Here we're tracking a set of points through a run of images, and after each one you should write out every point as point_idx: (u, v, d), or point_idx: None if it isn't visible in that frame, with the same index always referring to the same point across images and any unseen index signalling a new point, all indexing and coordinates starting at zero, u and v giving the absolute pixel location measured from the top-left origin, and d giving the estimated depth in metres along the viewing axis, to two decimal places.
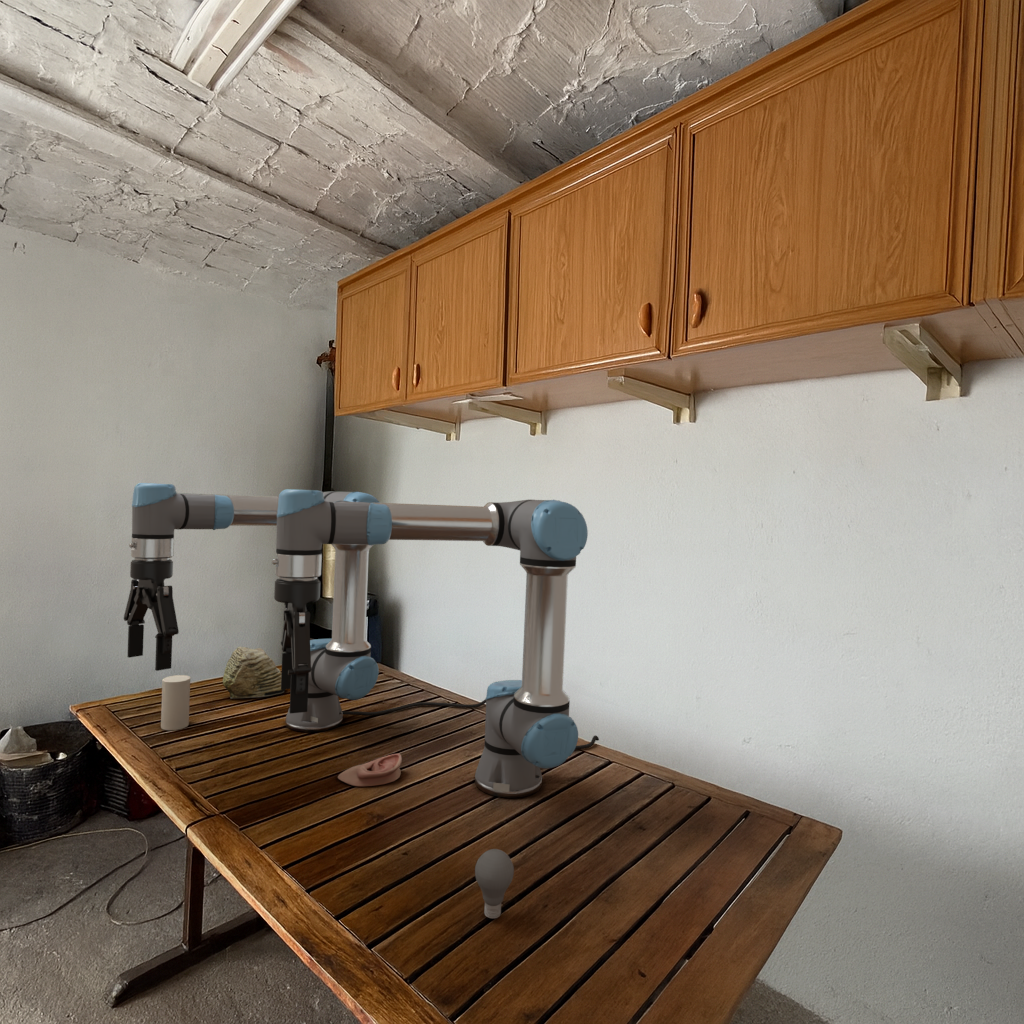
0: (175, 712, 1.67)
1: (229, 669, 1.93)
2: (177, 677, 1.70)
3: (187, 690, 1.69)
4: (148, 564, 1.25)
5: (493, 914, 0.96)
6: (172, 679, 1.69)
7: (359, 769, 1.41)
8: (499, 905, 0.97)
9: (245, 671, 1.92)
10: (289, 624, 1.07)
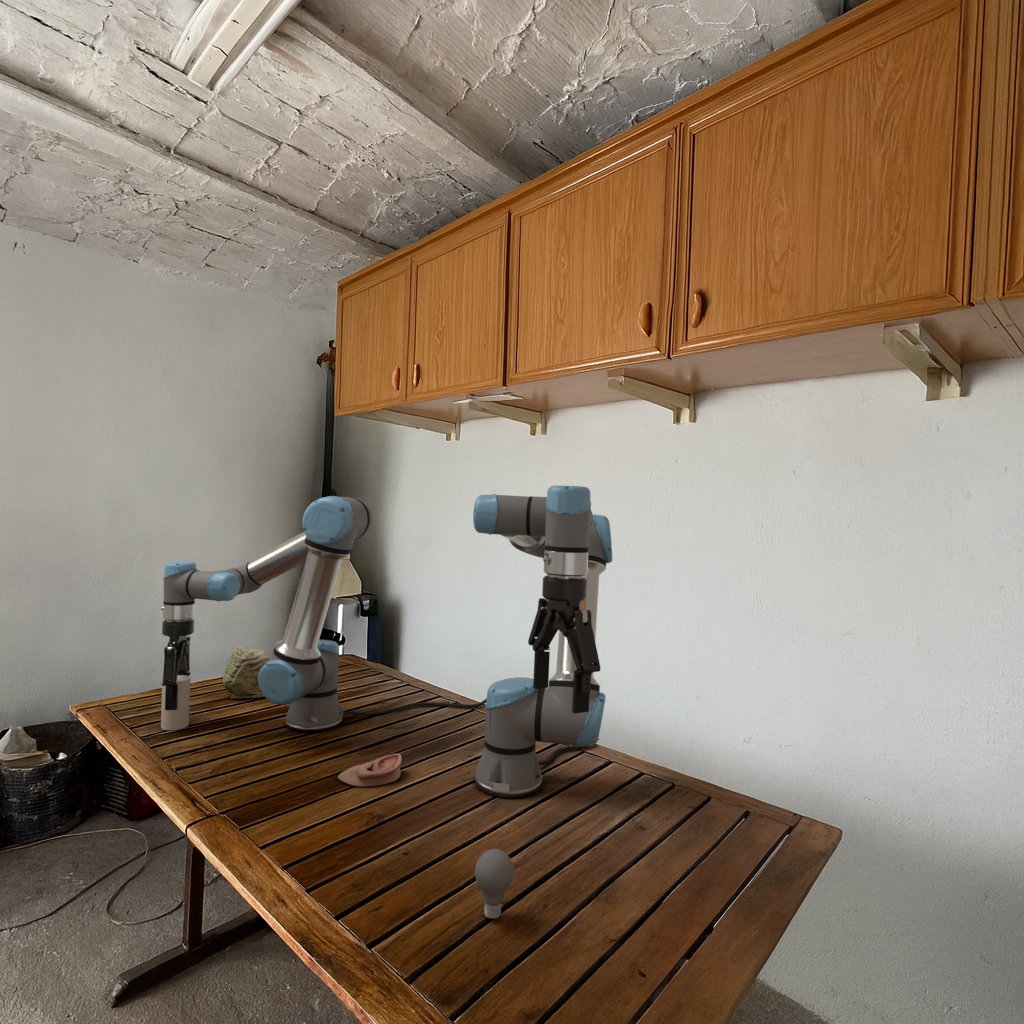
0: (175, 712, 1.67)
1: (229, 669, 1.93)
2: (177, 677, 1.70)
3: (187, 690, 1.69)
4: (166, 624, 1.66)
5: (493, 914, 0.96)
6: None
7: (359, 769, 1.41)
8: (499, 905, 0.97)
9: (245, 671, 1.92)
10: (564, 623, 1.05)
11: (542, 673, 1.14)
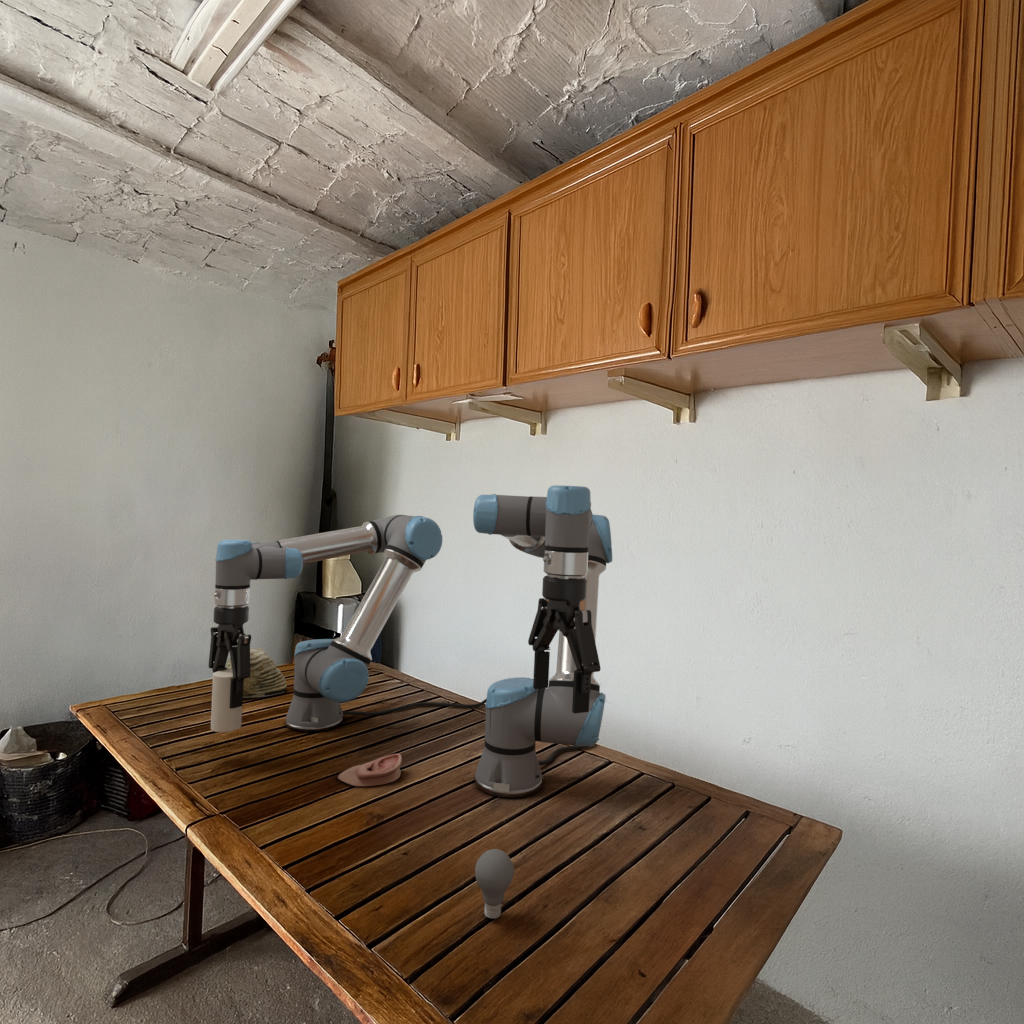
0: (238, 709, 1.48)
1: (229, 669, 1.93)
2: (225, 672, 1.49)
3: None
4: (231, 611, 1.45)
5: (493, 914, 0.96)
6: (225, 674, 1.48)
7: (359, 769, 1.41)
8: (499, 905, 0.97)
9: None
10: (564, 623, 1.05)
11: (542, 673, 1.14)
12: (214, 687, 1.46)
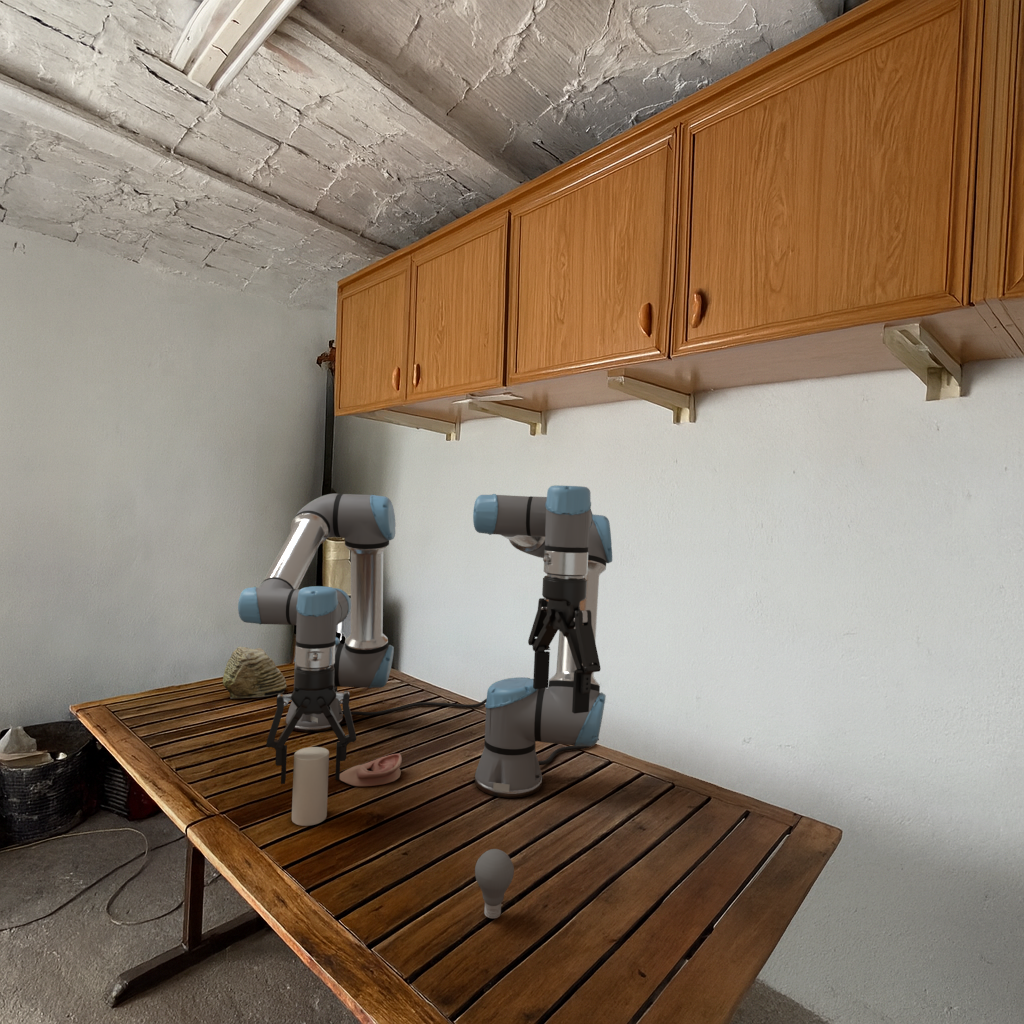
0: None
1: (229, 669, 1.93)
2: (306, 753, 1.25)
3: None
4: (331, 671, 1.24)
5: (493, 914, 0.96)
6: (313, 755, 1.24)
7: (359, 769, 1.41)
8: (499, 905, 0.97)
9: (245, 671, 1.92)
10: (564, 623, 1.05)
11: (542, 673, 1.14)
12: (311, 773, 1.22)
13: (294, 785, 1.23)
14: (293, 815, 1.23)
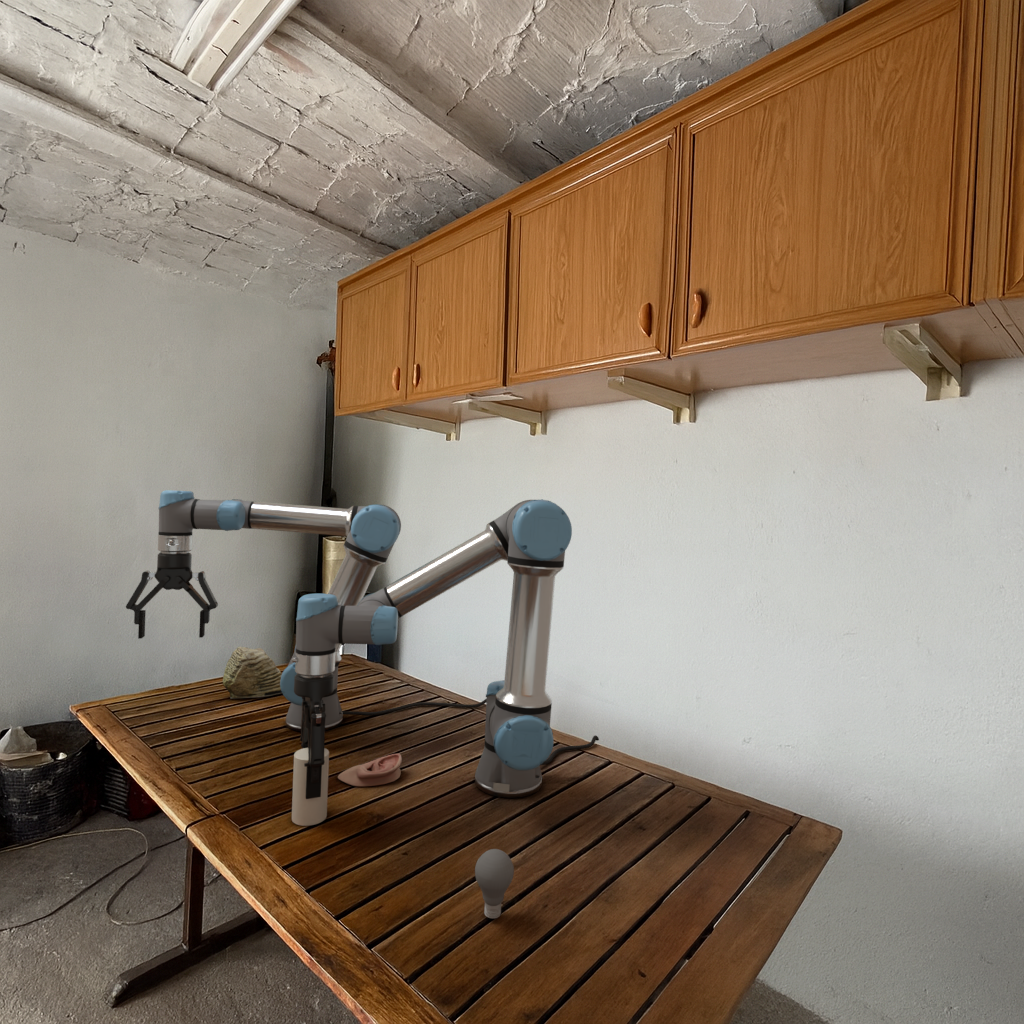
0: None
1: (229, 669, 1.93)
2: (306, 753, 1.25)
3: None
4: (187, 555, 1.57)
5: (493, 914, 0.96)
6: None
7: (359, 769, 1.41)
8: (499, 905, 0.97)
9: (245, 671, 1.92)
10: (307, 718, 1.22)
11: None
12: None
13: (294, 784, 1.23)
14: (293, 815, 1.23)
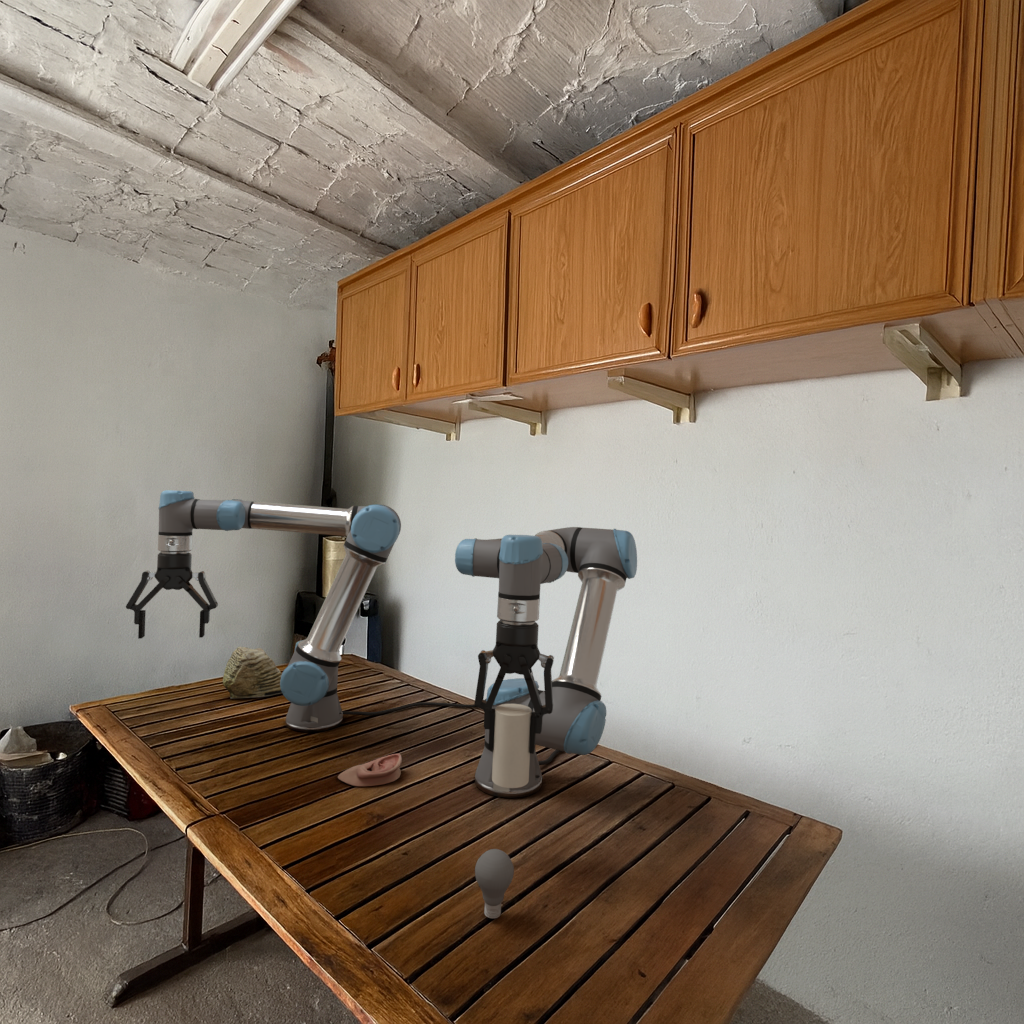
0: None
1: (229, 669, 1.93)
2: (512, 711, 1.13)
3: None
4: (187, 555, 1.57)
5: (493, 914, 0.96)
6: (519, 709, 1.14)
7: (359, 769, 1.41)
8: (499, 905, 0.97)
9: (245, 671, 1.92)
10: (528, 668, 1.12)
11: None
12: (530, 726, 1.13)
13: (514, 746, 1.10)
14: (513, 780, 1.11)
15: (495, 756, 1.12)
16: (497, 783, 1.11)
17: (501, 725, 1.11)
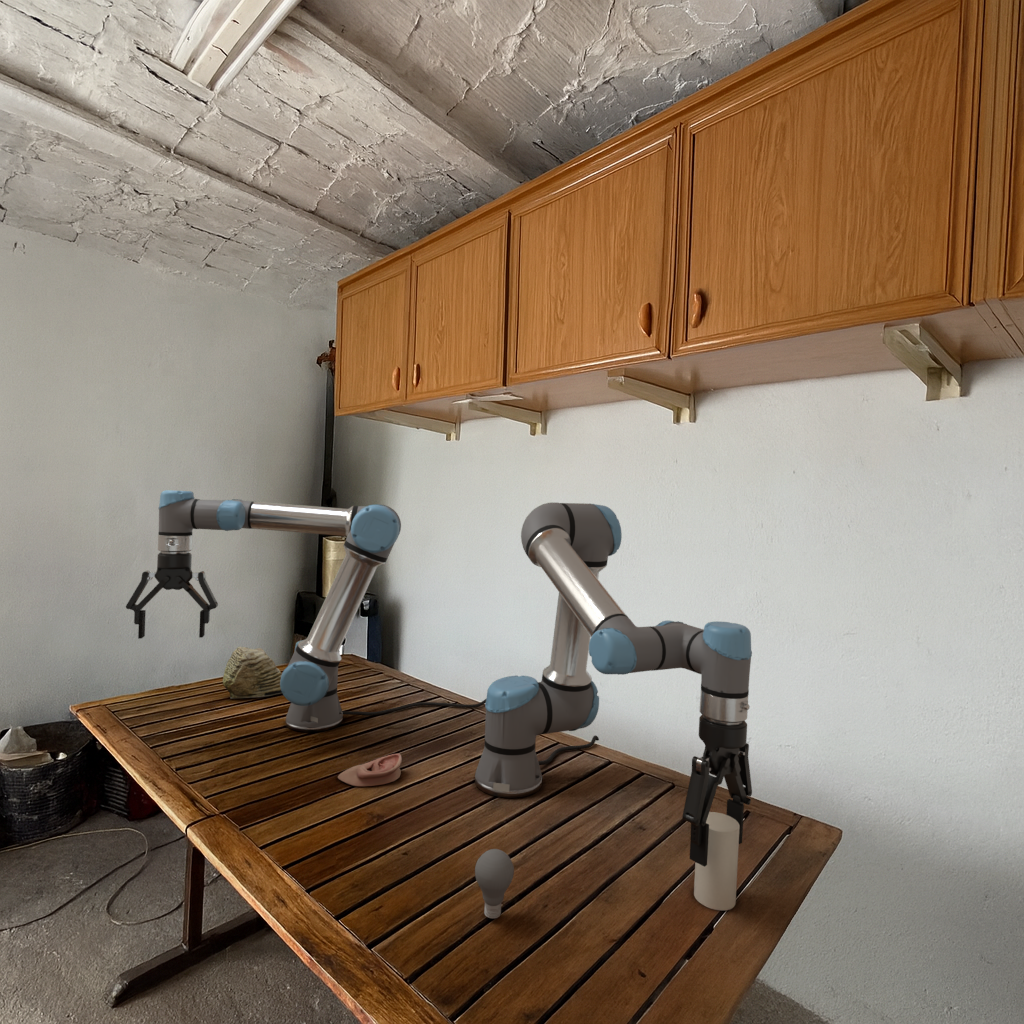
0: None
1: (229, 669, 1.93)
2: (723, 824, 1.04)
3: None
4: (187, 555, 1.57)
5: (493, 914, 0.96)
6: (720, 819, 1.06)
7: (359, 769, 1.41)
8: (499, 905, 0.97)
9: (245, 671, 1.92)
10: None
11: None
12: None
13: (737, 861, 1.03)
14: (735, 896, 1.03)
15: (718, 880, 1.02)
16: (722, 908, 1.02)
17: (727, 845, 1.01)
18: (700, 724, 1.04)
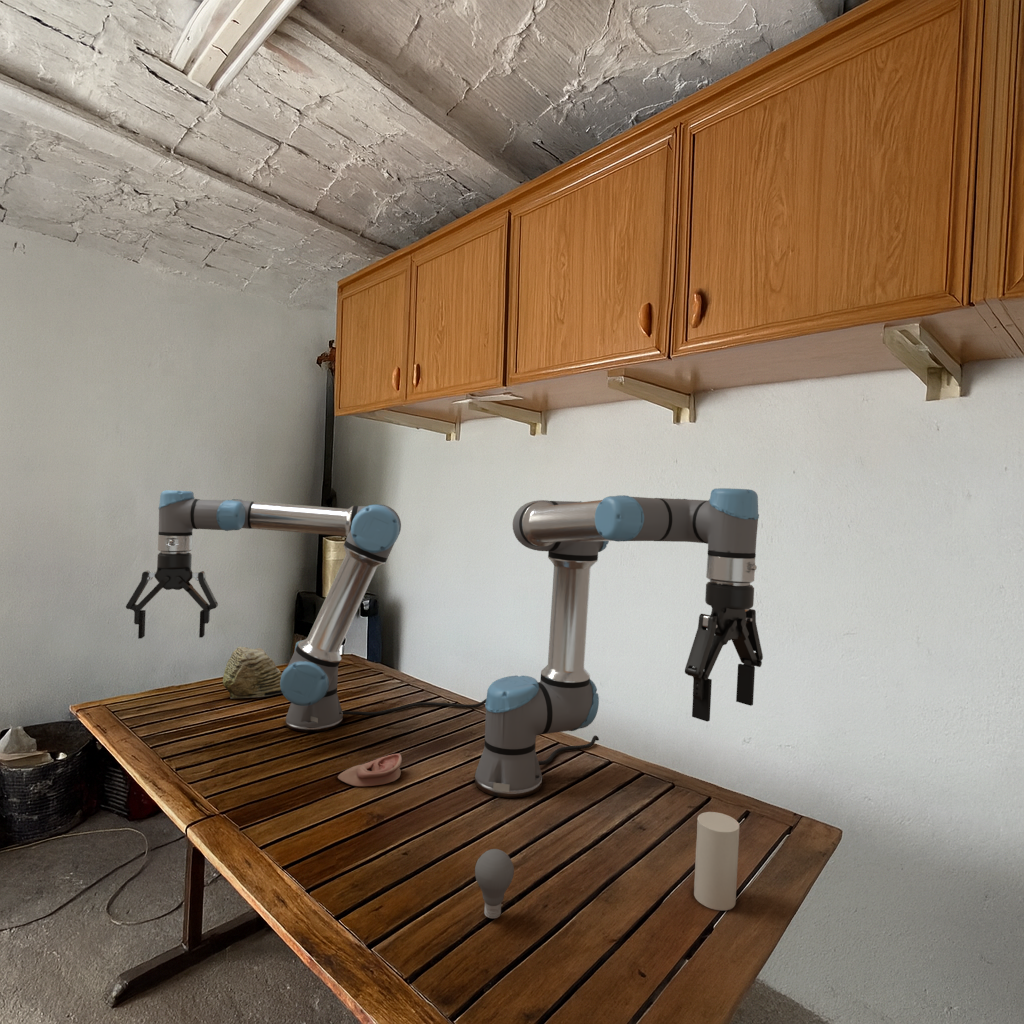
0: None
1: (229, 669, 1.93)
2: (723, 824, 1.04)
3: (699, 839, 1.04)
4: (187, 555, 1.57)
5: (493, 914, 0.96)
6: (720, 819, 1.06)
7: (359, 769, 1.41)
8: (499, 905, 0.97)
9: (245, 671, 1.92)
10: None
11: None
12: None
13: (737, 861, 1.03)
14: (735, 896, 1.03)
15: (718, 880, 1.02)
16: (722, 908, 1.02)
17: (727, 845, 1.01)
18: (707, 589, 1.04)
